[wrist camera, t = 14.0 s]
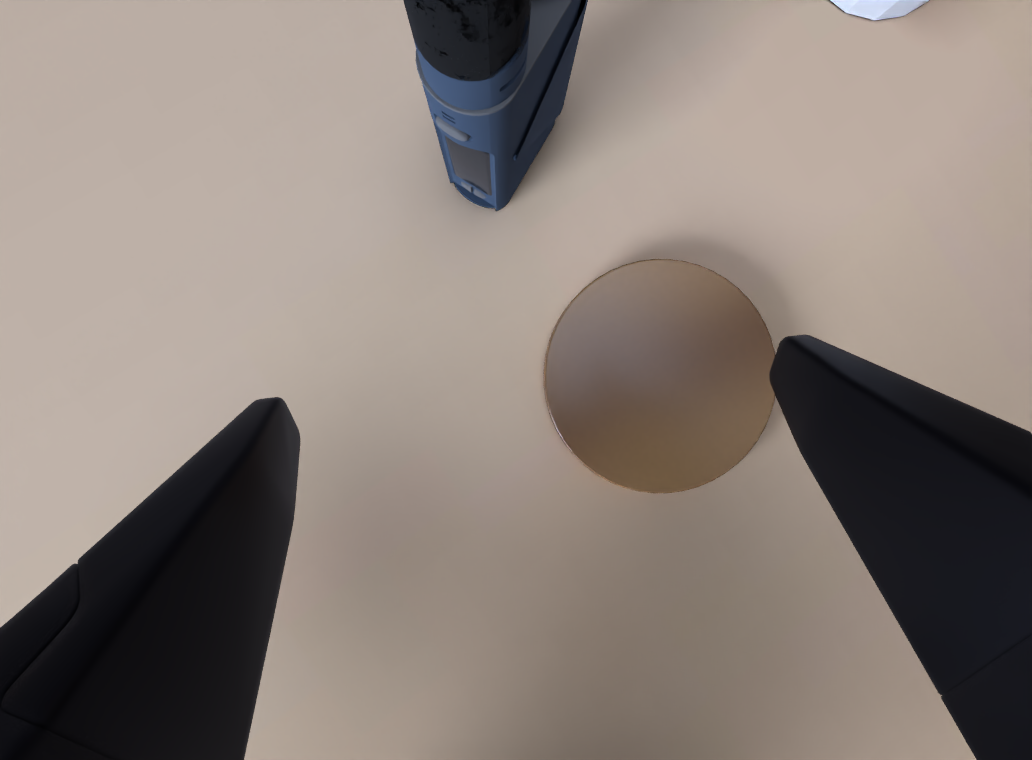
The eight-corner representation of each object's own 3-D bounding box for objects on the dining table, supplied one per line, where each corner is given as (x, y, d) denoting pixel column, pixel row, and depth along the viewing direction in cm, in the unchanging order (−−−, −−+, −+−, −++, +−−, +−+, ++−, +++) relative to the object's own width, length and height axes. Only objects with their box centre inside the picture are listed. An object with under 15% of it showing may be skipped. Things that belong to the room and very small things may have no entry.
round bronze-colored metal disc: (816, 385, 19) (825, 386, 18) (647, 537, 19) (651, 541, 18) (668, 213, 18) (672, 209, 18) (495, 367, 18) (495, 366, 18)
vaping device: (435, 190, 18) (306, -159, 6) (511, 64, 18) (529, -531, 6) (497, 227, 18) (487, -43, 6) (572, 103, 18) (708, -409, 6)
